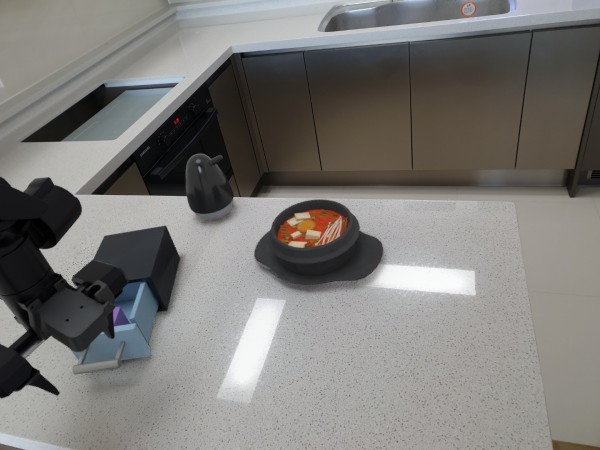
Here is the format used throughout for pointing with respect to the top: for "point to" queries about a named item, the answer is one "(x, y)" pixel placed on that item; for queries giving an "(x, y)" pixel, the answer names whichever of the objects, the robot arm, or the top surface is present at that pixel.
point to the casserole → (318, 245)
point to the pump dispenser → (207, 187)
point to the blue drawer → (123, 332)
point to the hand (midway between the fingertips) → (85, 364)
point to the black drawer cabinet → (144, 259)
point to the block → (119, 317)
